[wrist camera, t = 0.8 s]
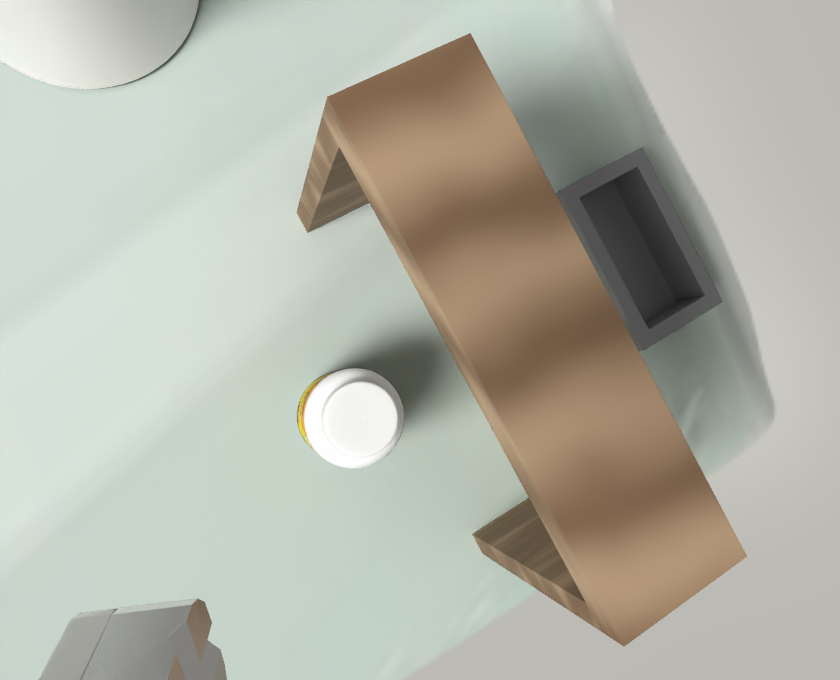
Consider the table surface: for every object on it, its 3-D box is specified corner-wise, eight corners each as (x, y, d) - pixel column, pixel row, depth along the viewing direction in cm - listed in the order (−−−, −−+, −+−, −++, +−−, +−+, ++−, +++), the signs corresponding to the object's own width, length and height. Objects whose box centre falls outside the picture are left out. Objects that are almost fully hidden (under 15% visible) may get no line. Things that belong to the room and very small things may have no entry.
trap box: (536, 206, 52) (560, 190, 48) (613, 165, 54) (642, 147, 50) (614, 353, 53) (644, 349, 49) (688, 308, 54) (722, 301, 50)
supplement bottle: (339, 354, 48) (363, 343, 38) (397, 415, 49) (435, 419, 39) (277, 414, 47) (284, 418, 37) (336, 475, 47) (360, 496, 37)
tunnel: (296, 212, 48) (327, 96, 30) (387, 168, 50) (470, 33, 31) (482, 553, 49) (624, 646, 31) (565, 499, 51) (746, 556, 32)
